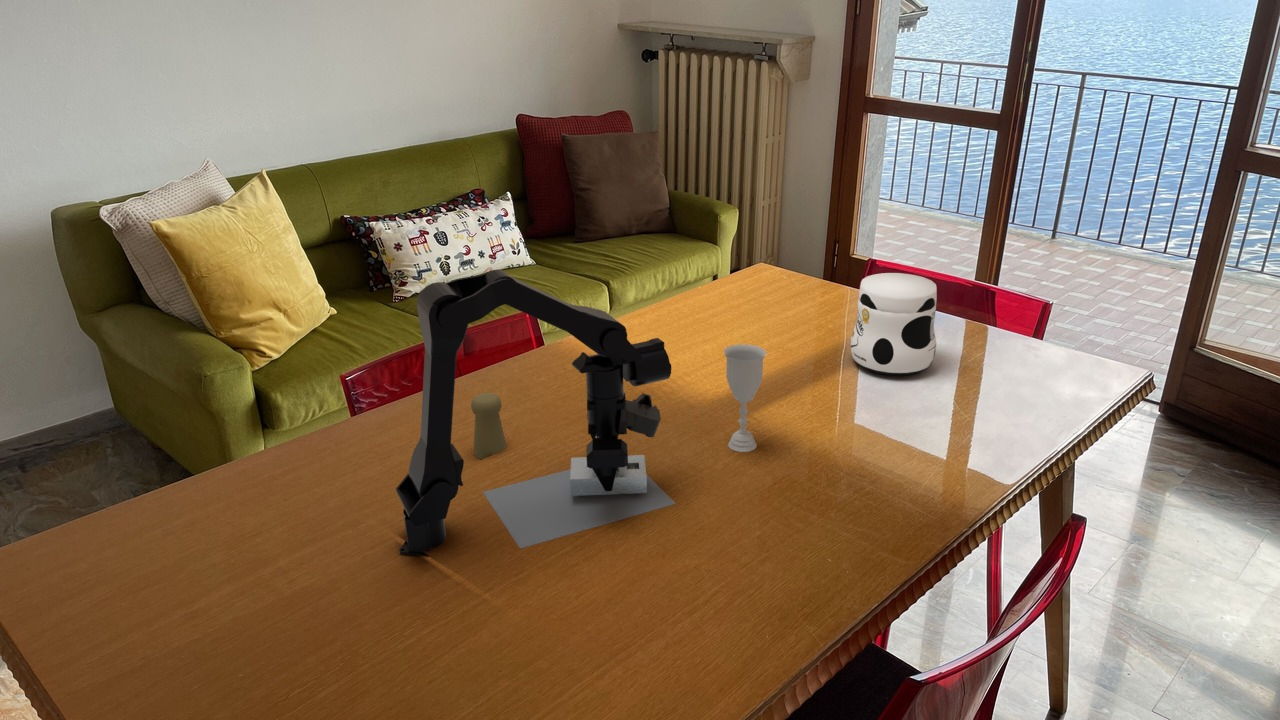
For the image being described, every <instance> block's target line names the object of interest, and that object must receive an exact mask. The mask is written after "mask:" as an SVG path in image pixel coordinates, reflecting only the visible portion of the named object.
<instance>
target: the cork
mask: <svg viewBox="0 0 1280 720" xmlns="http://www.w3.org/2000/svg"><path fill="white" fill-rule="evenodd" d="M470 407H471V408H470V409H471V411H472V413H473V414H474V434H473V436H474V438H473V440H474V441H473V456H474V457H475V458H477V459H478V458H479V460H482V459H483V460H485V459H487V458H489V457H491V456H493V455H497V454H500V453H502V452H504V451H505V449H506V448H507V446H508V445H507V442H506V439H505V438H506V437H505V433H504V429H503V425H502V421H501V416H500V412H501V410H502V401H501V399H500V397H499V396H498V395H497V394H496V393H493V392H482V393H479V394H477V395H475V396H474V397H473V398H472V400H471V403H470Z"/></svg>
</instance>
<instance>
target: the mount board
mask: <svg viewBox="0 0 1280 720" xmlns="http://www.w3.org/2000/svg"><path fill="white" fill-rule="evenodd" d="M570 474H571V468H569V469H567V470H562V471H558V472H555V473H550V474H547V475H543V476H540V477H535V478H531V479H528V480H524V481H520V482H516V483H512V484H509V485H504V486H501V487H498V488H497V487H496V488H493V489H489V490H486V491H482V494H483V495H484V497H485V498H486V500H487V501H488V503H489V504H490V506H491V507H492V509H493V511H494V512H495V513H496V514H497V516H498V518H499V519H500V521H501V522H502V524H503V526H504V527H505V528H506V530H507V531H508V533H509V535H511V538H512V539H513V540H514V542H515V543H516V545H517V546H518V547H519V550H521V549H525V548H529V547H531V546H535V545H539V544H542V543H546V542H549V541H552V540H555V539H560V538H562V537H566V536H570V535H574V534H576V533H580V532H583V531H586V530H590V529H594V528H596V527H597V528H598V527H600V526H604V525H607V524H610V523H614V522H618V521H622V520H625V519H628V518H631V517H635V516H639V515H643V514H646V513H649V512H652V511H656V510H660V509H663V508H666V507H667V508H668V507H670V506H673V505H676V504H677V503H676V501H674V500H673V499H672V498H671V497H670V496H669V495H668V494H667V493H666V492H665V491H664V490H663V489H661V487H660V486H659V485H658V484H657V483H656V482H655V481H654V480H653V479H651V477H649V475H647V474H646V479H647V493H632V494H607V495H581V496H571V484H570Z"/></svg>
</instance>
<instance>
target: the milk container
mask: <svg viewBox="0 0 1280 720" xmlns="http://www.w3.org/2000/svg"><path fill="white" fill-rule="evenodd" d="M937 292H938V291H937V284H936V283H935V282H934V281H932V280H931V279H929V278H927V277H925V276H924V277H923V276H920V275H917V274H910V273H901V272H885V273H883V272H882V273H877V274H876V273H875V274H872V275H867V276H866V277H864V278H862V280H861V281H860V286H859V291H858V299H857V317H856V322H855V326H854V328H853V331H852V334H851V337H850V350H851V351H850V353H851V356H852V359H853V360H854V361H855V363H856V364H858V365H859V366H860V367H862V368H864V369H865V370H868V371H870V372H874V373H877V374H882V375H889V376H906V375H907V376H908V375H914V374H917V373H920V372H923V371H925V370H927V369H928V368H929V367H930V366H931V364H932V363H933V361H934V358H935V355H936V351H937V339H936V338H937V337H936V334H935V333H936V332H935V319H936V318H935V317H936V313H937V310H936V309H937V300H938V299H937V298H938V297H937V295H938V294H937Z"/></svg>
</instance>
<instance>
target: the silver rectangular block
mask: <svg viewBox="0 0 1280 720" xmlns="http://www.w3.org/2000/svg"><path fill="white" fill-rule="evenodd" d="M645 458H646V457H645V454H636V455H635V454H634V455H633V454H632V455H628V466H626V467H618V468H617V471H616V475H615V480H614V484H613V488H612V491H605V490H604V488H603V486H602V484H601V483H600V481H599V479H598V477H597V476H596V474H595V472H594V471H593V469H592V468H588V467H587V456H586V457H585V456H580V457H571V458H570V469H571V474H570V484H571V496H581V495H607V494H632V493H647V479H646V475H647V471H646V469H647V468H646V459H645Z"/></svg>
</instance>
